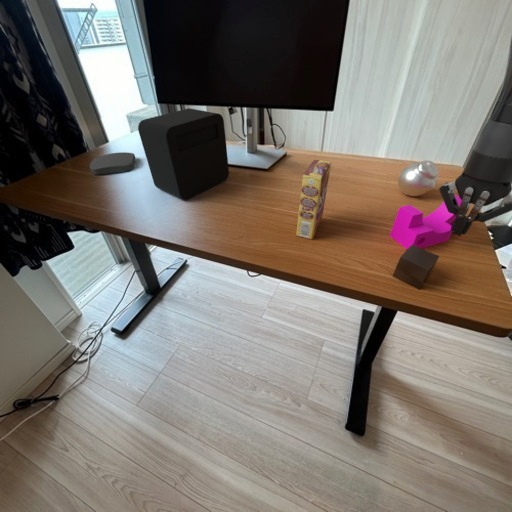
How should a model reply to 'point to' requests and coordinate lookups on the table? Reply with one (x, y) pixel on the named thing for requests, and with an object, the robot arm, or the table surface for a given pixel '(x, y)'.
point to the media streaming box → (113, 163)
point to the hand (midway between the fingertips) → (457, 233)
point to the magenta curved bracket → (423, 226)
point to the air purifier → (185, 151)
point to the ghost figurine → (418, 178)
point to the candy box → (312, 198)
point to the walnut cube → (415, 266)
